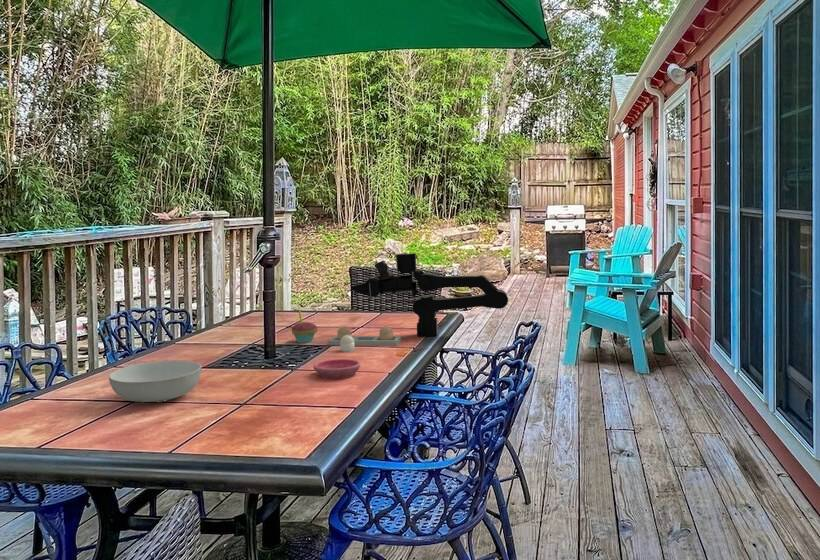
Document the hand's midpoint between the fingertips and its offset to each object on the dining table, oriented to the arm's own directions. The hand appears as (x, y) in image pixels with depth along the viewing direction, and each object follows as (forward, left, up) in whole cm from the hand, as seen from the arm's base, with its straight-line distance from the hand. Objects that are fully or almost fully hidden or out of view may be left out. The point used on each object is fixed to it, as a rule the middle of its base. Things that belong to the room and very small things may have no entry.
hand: (353, 287), depth 234 cm
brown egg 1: (+1, +13, -17) cm, 21 cm away
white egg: (-3, +25, -17) cm, 31 cm away
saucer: (-7, +53, -18) cm, 56 cm away
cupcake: (+15, +11, -17) cm, 25 cm away
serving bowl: (+31, +78, -18) cm, 86 cm away
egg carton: (-6, +13, -17) cm, 23 cm away
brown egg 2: (-13, +13, -17) cm, 25 cm away
